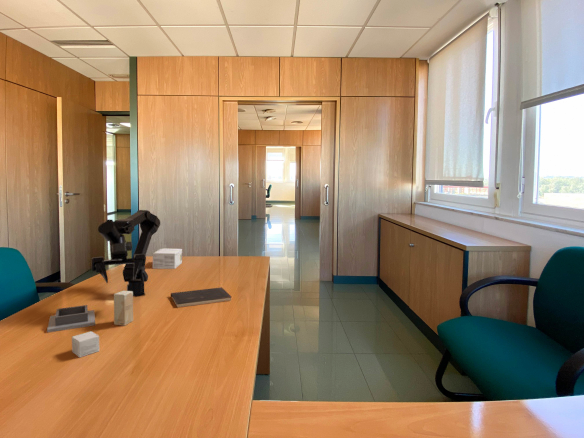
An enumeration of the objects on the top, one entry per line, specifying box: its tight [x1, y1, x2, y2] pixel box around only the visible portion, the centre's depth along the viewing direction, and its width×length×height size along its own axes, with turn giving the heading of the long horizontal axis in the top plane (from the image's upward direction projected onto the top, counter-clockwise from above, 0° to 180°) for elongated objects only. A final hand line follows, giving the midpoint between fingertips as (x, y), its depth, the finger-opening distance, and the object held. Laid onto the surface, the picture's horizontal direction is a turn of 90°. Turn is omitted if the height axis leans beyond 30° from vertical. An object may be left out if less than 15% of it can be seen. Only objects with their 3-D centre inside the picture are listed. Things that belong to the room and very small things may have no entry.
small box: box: [71, 331, 100, 358], centre depth 107 cm, size 6×6×5 cm
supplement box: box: [152, 248, 183, 270], centre depth 219 cm, size 17×13×9 cm
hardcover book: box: [170, 287, 232, 308], centre depth 158 cm, size 16×23×2 cm
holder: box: [46, 304, 96, 334], centre depth 129 cm, size 14×14×4 cm
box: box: [113, 290, 134, 326], centre depth 129 cm, size 5×4×11 cm
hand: (121, 281), depth 135 cm, fingers open, 9 cm apart
